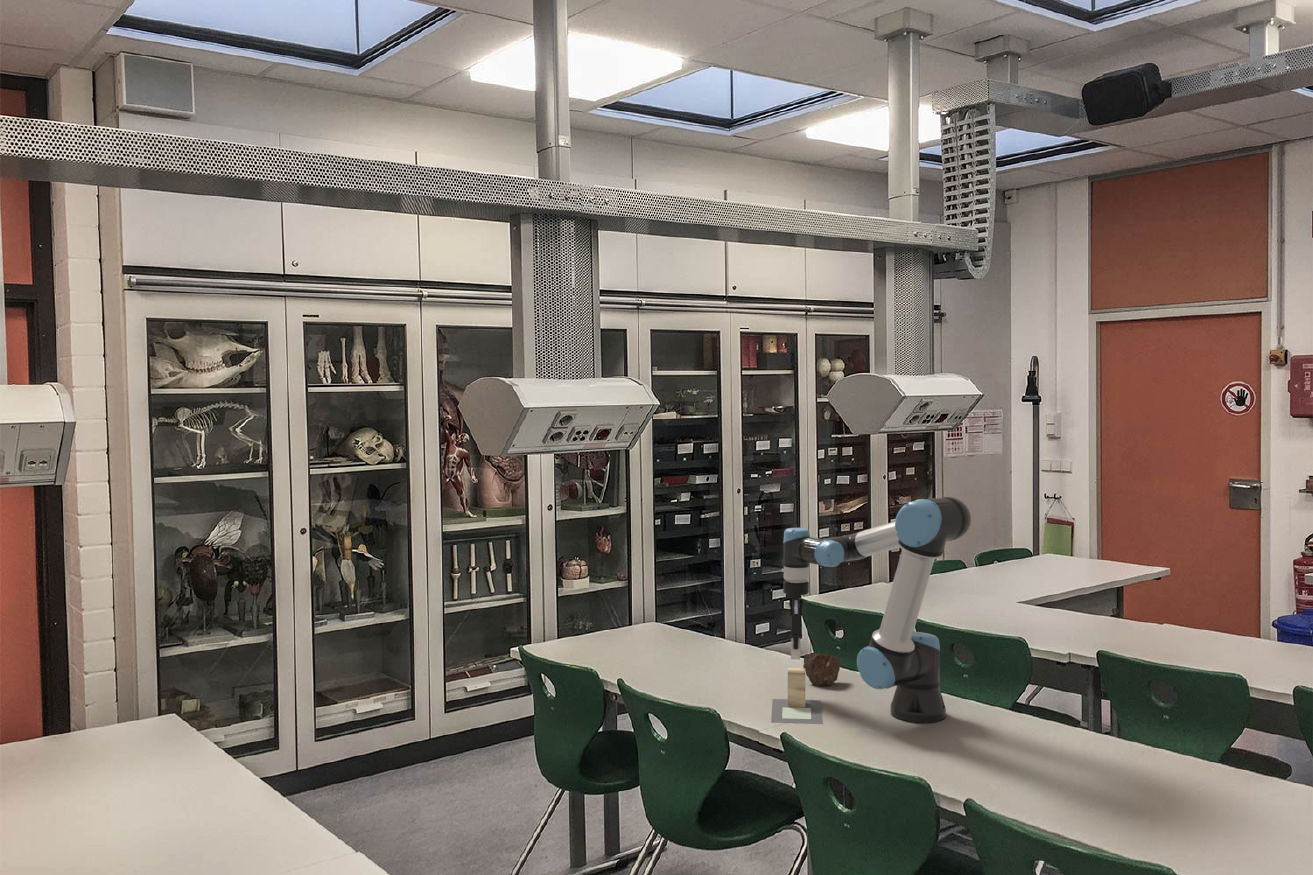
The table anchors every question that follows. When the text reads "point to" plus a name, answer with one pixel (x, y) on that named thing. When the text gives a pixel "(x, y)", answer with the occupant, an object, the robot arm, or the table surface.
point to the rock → (821, 668)
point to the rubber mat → (796, 712)
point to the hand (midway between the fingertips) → (795, 658)
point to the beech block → (796, 687)
